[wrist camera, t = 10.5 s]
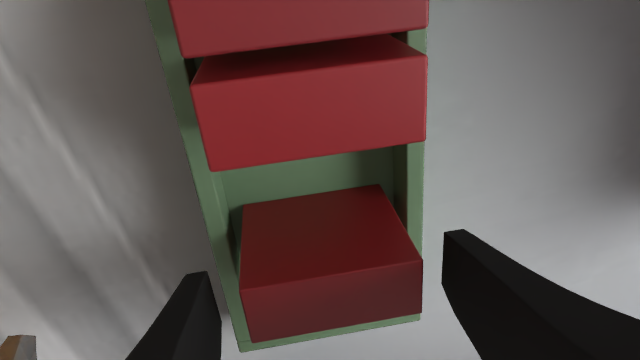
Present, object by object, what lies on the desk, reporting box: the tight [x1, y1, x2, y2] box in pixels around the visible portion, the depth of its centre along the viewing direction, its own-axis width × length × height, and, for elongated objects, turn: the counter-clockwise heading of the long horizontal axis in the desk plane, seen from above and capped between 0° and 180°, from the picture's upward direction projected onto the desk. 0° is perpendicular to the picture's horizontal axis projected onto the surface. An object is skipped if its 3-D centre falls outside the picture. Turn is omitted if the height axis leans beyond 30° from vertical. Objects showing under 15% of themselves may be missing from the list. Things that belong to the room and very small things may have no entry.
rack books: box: [167, 0, 429, 172], centre depth 10 cm, size 4×5×4 cm
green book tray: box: [145, 0, 427, 353], centre depth 14 cm, size 15×7×2 cm, turn 6°
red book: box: [239, 184, 423, 343], centre depth 14 cm, size 2×5×4 cm, turn 96°
